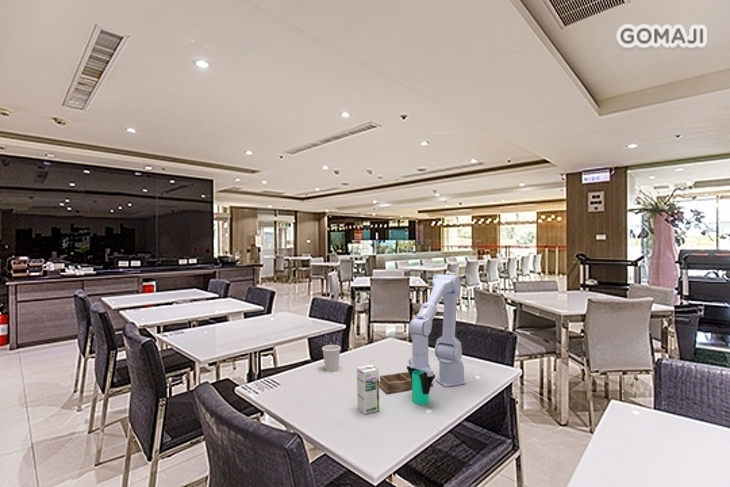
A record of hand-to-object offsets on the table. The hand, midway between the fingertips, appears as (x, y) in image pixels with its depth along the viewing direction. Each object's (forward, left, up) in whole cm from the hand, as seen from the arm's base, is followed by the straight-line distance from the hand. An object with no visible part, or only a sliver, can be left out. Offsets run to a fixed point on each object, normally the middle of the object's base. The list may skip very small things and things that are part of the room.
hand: (420, 389), depth 133 cm
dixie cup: (+21, -44, -4) cm, 49 cm away
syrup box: (+20, -1, -4) cm, 20 cm away
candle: (0, 0, -4) cm, 4 cm away
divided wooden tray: (-1, -15, -4) cm, 16 cm away
